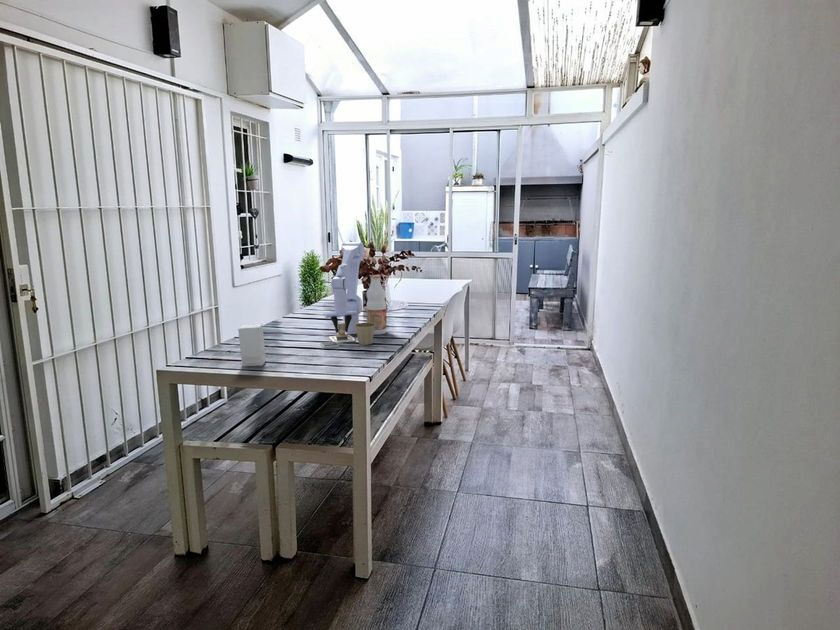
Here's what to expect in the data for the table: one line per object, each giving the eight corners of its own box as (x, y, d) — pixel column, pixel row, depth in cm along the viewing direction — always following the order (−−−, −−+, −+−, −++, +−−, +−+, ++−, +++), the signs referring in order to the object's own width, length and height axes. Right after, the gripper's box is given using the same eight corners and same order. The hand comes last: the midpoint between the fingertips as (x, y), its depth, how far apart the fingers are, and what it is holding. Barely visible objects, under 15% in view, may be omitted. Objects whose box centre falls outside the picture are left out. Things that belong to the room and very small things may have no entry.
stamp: (336, 337, 264) (335, 322, 263) (347, 336, 265) (346, 322, 263) (336, 339, 259) (336, 324, 258) (347, 339, 260) (347, 324, 259)
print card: (328, 337, 265) (328, 336, 265) (349, 335, 269) (349, 334, 269) (334, 343, 255) (334, 341, 255) (355, 341, 259) (355, 339, 259)
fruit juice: (363, 332, 276) (362, 275, 271) (380, 329, 281) (379, 273, 276) (373, 335, 269) (371, 277, 263) (390, 333, 274) (389, 275, 268)
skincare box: (266, 361, 227) (263, 323, 224) (262, 366, 221) (259, 327, 218) (245, 362, 227) (242, 324, 224) (240, 366, 220) (237, 327, 217)
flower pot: (356, 346, 249) (356, 327, 247) (353, 341, 258) (352, 323, 256) (377, 345, 251) (377, 326, 250) (373, 340, 260) (373, 321, 259)
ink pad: (320, 345, 252) (320, 342, 252) (335, 343, 255) (335, 340, 255) (323, 348, 246) (323, 345, 246) (338, 346, 249) (338, 344, 249)
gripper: (326, 305, 253) (328, 335, 255) (358, 303, 258) (359, 332, 260) (323, 303, 259) (324, 331, 262) (354, 300, 264) (355, 329, 267)
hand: (341, 331), depth 261 cm, fingers open, 4 cm apart
